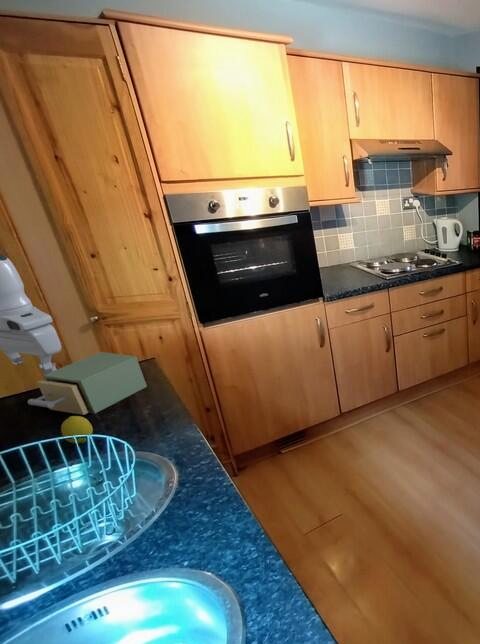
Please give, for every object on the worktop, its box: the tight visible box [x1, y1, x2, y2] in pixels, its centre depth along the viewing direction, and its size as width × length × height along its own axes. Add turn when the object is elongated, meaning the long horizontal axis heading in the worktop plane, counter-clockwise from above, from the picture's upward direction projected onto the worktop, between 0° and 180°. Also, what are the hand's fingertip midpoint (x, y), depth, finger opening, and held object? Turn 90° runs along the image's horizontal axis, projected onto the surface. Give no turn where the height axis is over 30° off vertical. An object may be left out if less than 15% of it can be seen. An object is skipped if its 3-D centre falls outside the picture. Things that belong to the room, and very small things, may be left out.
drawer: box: [27, 379, 91, 416], centre depth 129 cm, size 20×12×9 cm, turn 167°
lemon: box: [60, 415, 94, 444], centre depth 113 cm, size 6×6×8 cm
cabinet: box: [43, 351, 148, 414], centre depth 133 cm, size 16×14×11 cm
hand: (33, 366), depth 118 cm, fingers open, 8 cm apart
